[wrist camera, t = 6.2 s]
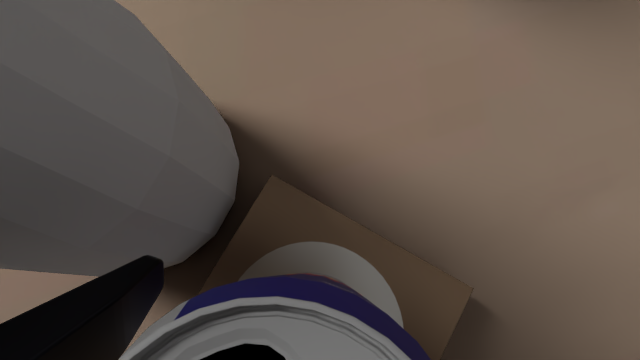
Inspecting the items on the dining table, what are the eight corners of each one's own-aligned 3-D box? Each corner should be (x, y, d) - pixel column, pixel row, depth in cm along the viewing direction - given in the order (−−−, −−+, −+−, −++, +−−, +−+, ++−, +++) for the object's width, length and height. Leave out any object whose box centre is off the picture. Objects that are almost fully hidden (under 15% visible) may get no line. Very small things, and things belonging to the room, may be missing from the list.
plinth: (355, 491, 17) (360, 531, 14) (168, 366, 18) (141, 383, 16) (454, 286, 19) (475, 288, 16) (278, 185, 20) (271, 173, 17)
